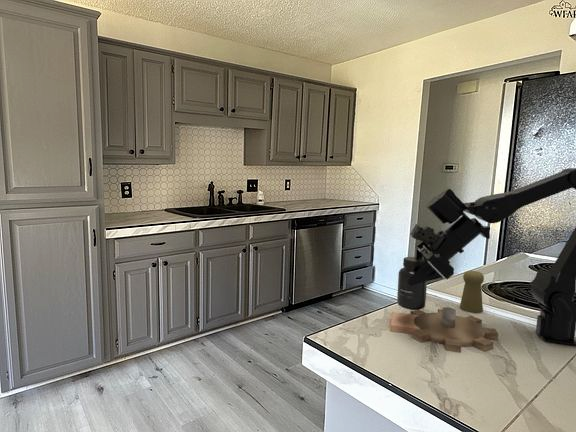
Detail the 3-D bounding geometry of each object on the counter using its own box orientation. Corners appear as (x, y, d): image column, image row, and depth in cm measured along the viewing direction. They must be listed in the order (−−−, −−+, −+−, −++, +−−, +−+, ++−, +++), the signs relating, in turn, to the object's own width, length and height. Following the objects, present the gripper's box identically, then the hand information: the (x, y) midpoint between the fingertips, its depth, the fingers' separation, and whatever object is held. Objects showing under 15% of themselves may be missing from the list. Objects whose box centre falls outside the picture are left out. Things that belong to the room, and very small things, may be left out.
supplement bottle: (399, 309, 90) (401, 261, 88) (395, 300, 97) (396, 255, 95) (428, 311, 89) (431, 262, 87) (422, 301, 96) (424, 256, 94)
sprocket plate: (487, 320, 98) (488, 300, 97) (508, 359, 78) (510, 334, 77) (392, 309, 105) (393, 290, 104) (389, 342, 85) (390, 319, 84)
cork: (487, 313, 102) (490, 274, 101) (465, 313, 103) (468, 274, 101) (476, 305, 108) (479, 268, 107) (455, 305, 109) (458, 268, 107)
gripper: (425, 209, 98) (381, 248, 102) (440, 218, 80) (386, 265, 83) (455, 239, 98) (410, 278, 101) (477, 255, 80) (422, 301, 83)
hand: (406, 279), depth 92 cm, fingers closed on supplement bottle, 7 cm apart
